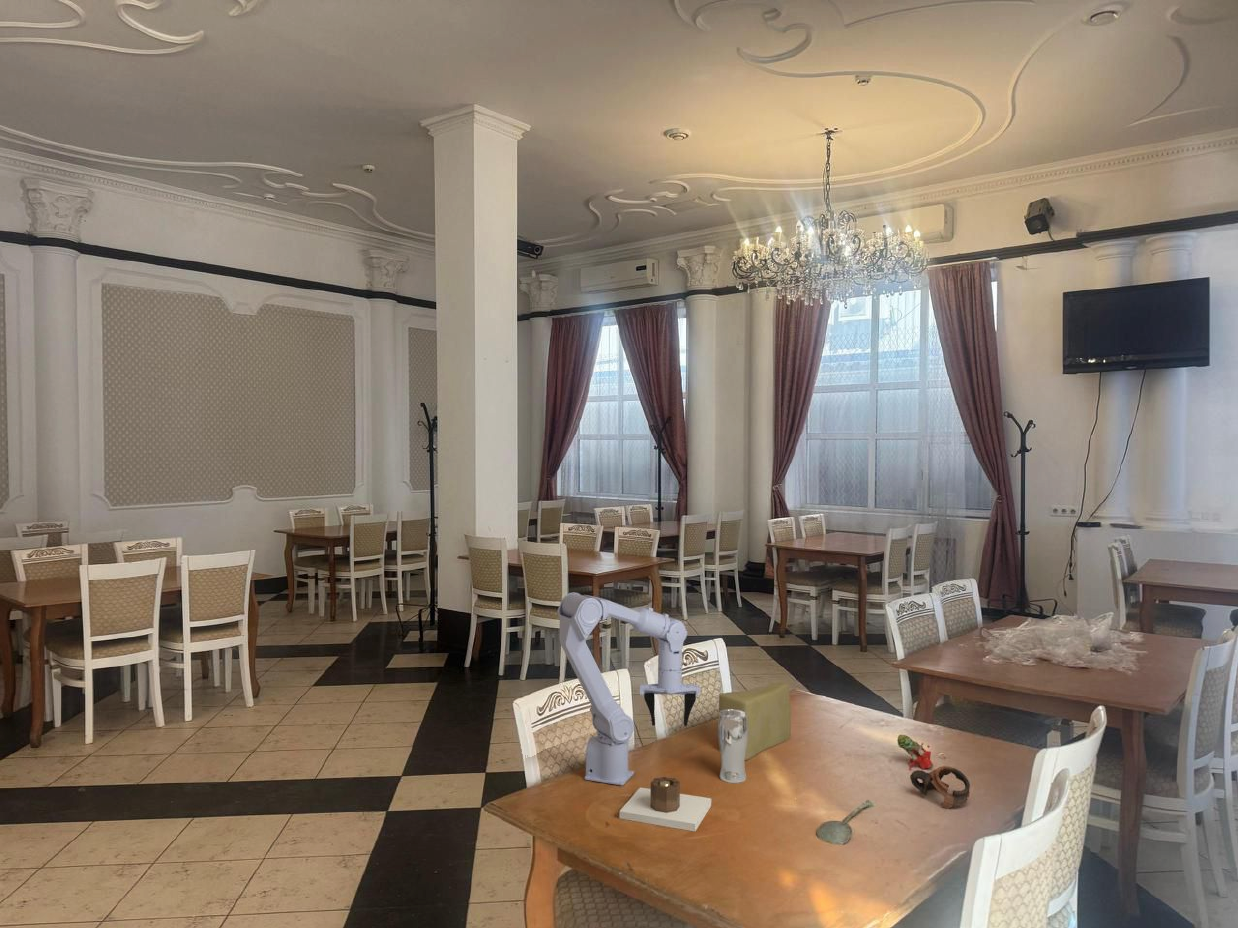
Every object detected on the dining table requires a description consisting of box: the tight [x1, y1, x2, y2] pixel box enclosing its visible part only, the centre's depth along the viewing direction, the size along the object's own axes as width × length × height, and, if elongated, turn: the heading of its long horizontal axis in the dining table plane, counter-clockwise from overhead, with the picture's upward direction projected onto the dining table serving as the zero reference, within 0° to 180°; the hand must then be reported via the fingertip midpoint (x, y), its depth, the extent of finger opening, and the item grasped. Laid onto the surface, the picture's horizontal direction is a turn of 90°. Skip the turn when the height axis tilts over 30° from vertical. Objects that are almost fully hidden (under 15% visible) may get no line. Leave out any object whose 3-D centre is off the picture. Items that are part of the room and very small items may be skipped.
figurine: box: [896, 734, 934, 771], centre depth 196 cm, size 7×9×10 cm
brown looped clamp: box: [909, 765, 971, 810], centre depth 176 cm, size 12×10×8 cm
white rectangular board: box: [618, 786, 712, 832], centre depth 169 cm, size 16×13×2 cm
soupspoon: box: [816, 799, 874, 846], centre depth 164 cm, size 22×3×7 cm
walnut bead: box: [650, 776, 681, 813], centre depth 168 cm, size 6×6×5 cm
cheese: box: [718, 682, 792, 761], centre depth 208 cm, size 22×10×15 cm, turn 129°
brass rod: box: [660, 781, 670, 786], centre depth 168 cm, size 2×2×6 cm
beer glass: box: [717, 709, 748, 784], centre depth 187 cm, size 7×7×15 cm
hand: (669, 724), depth 195 cm, fingers open, 7 cm apart
